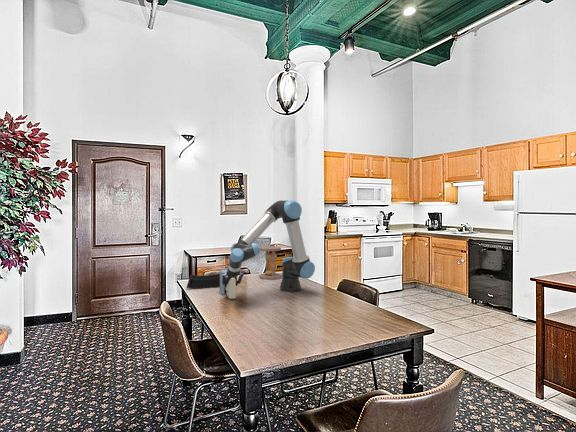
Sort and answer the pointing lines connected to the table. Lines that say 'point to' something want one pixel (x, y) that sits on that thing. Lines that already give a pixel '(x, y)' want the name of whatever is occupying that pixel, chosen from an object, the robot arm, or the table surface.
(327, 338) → the table surface
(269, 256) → the hourglass
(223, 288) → the housing
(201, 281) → the magazine
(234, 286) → the tile
